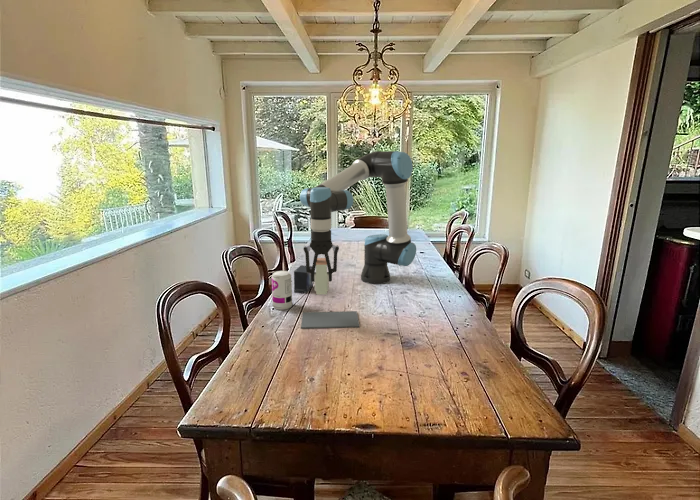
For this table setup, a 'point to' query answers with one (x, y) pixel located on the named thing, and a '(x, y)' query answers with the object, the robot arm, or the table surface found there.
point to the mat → (329, 319)
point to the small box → (302, 280)
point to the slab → (321, 276)
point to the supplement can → (281, 290)
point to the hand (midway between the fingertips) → (321, 289)
